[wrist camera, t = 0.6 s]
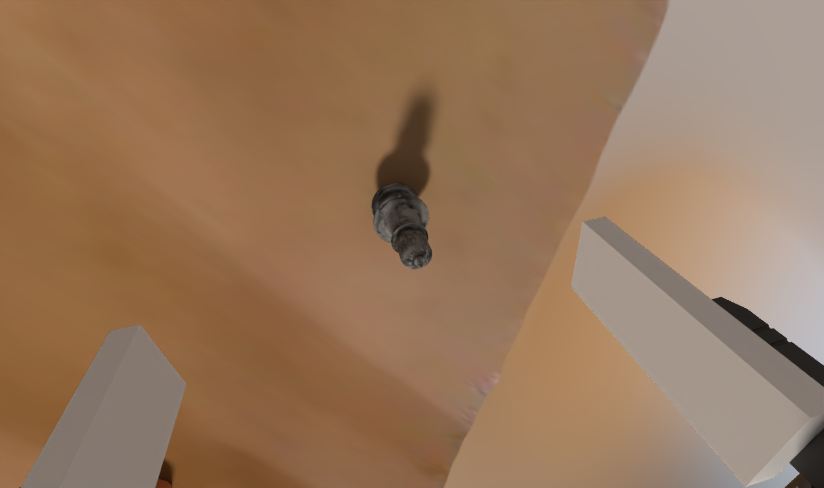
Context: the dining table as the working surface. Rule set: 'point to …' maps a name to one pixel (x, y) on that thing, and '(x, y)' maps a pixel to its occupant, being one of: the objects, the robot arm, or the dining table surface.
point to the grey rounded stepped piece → (403, 223)
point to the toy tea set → (162, 484)
